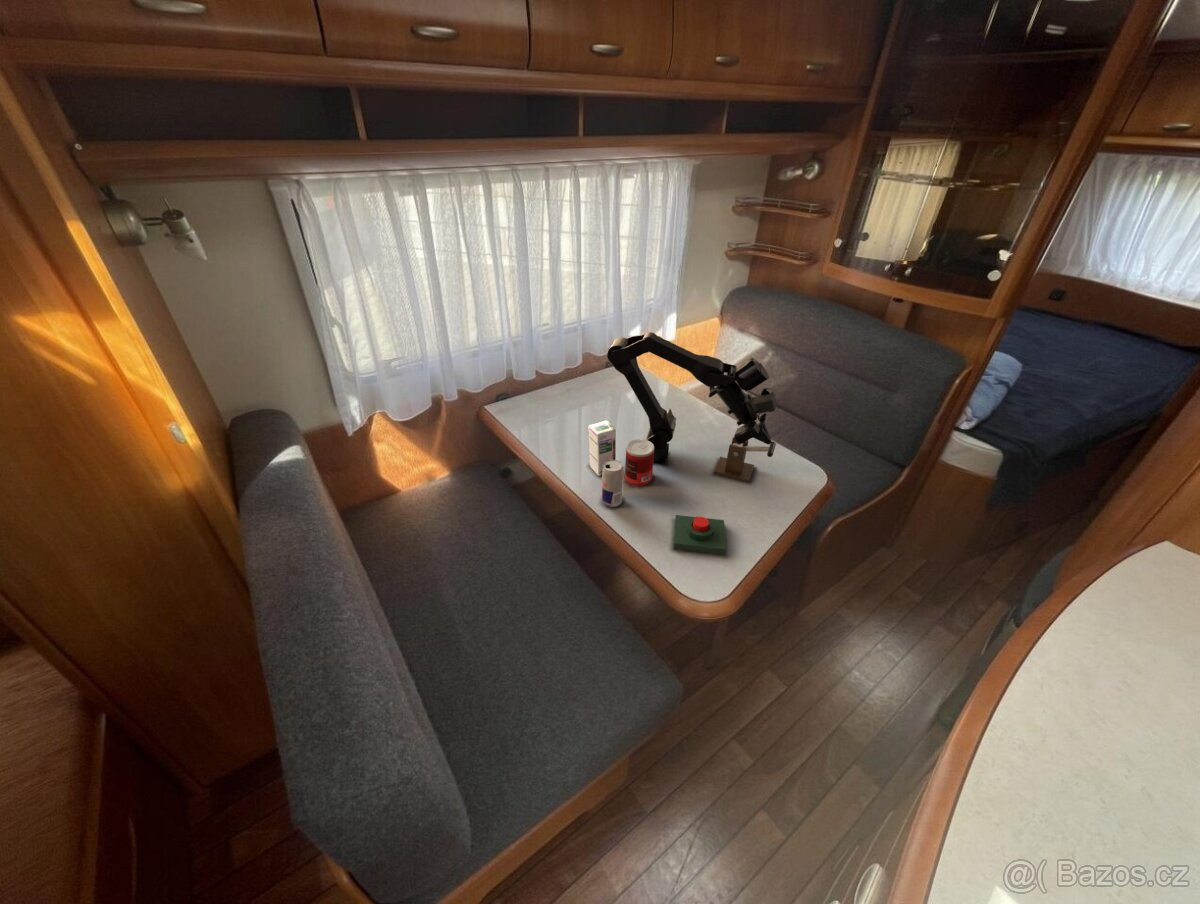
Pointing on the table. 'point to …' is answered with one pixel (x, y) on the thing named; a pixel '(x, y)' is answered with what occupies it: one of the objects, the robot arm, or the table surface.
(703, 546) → the button box
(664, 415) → the robot arm
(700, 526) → the button
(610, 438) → the syrup box
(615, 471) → the energy drink
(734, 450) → the bracket
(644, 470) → the canned food
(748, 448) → the lever
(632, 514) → the table surface
